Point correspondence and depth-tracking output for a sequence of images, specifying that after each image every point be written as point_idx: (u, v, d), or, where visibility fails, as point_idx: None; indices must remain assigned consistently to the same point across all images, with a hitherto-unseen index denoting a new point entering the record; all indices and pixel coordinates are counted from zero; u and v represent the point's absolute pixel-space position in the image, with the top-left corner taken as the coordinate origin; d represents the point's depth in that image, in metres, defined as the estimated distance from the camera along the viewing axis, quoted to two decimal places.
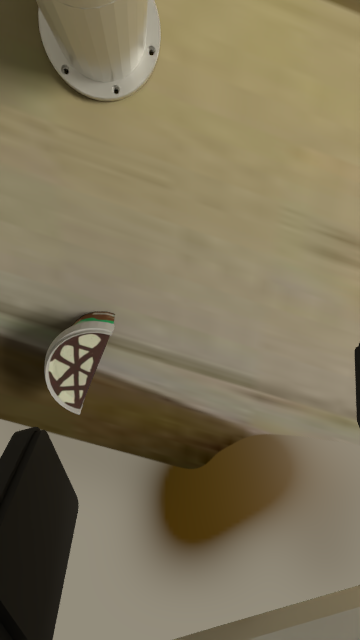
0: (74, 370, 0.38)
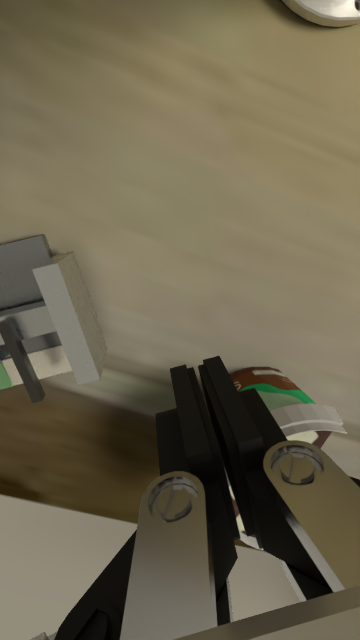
0: None
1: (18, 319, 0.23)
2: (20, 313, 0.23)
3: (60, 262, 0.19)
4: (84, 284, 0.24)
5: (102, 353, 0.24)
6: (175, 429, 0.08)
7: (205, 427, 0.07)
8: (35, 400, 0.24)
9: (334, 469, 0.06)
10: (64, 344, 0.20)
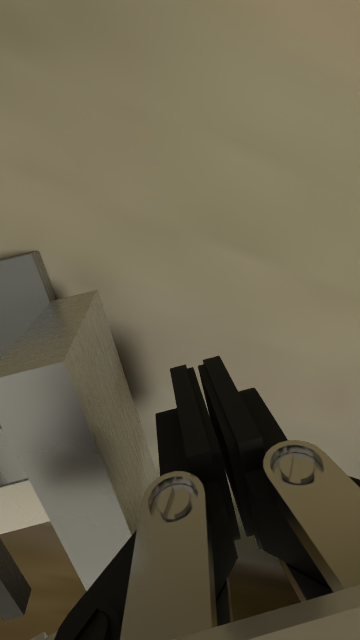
0: None
1: None
2: None
3: (71, 350, 0.06)
4: (118, 361, 0.11)
5: None
6: (174, 429, 0.08)
7: (205, 427, 0.07)
8: (9, 616, 0.11)
9: (334, 469, 0.06)
10: (78, 562, 0.07)
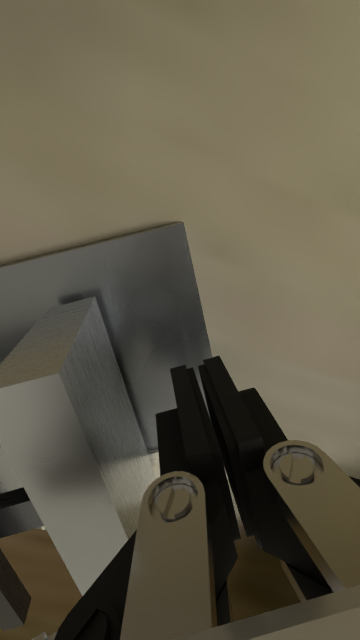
0: None
1: None
2: None
3: (67, 360, 0.06)
4: (116, 368, 0.11)
5: None
6: (174, 429, 0.08)
7: (205, 427, 0.07)
8: (9, 626, 0.11)
9: (334, 469, 0.06)
10: (77, 574, 0.07)
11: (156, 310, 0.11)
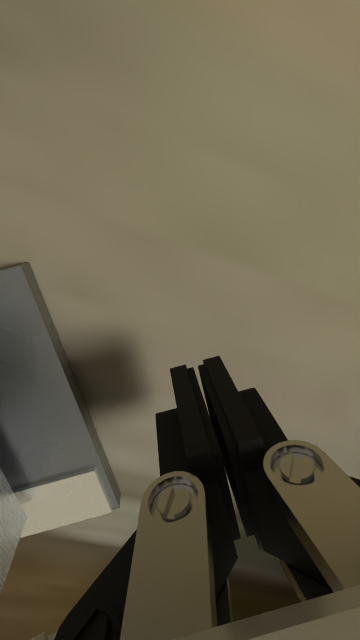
0: None
1: None
2: None
3: None
4: None
5: (1, 561, 0.11)
6: (174, 429, 0.08)
7: (205, 427, 0.07)
8: None
9: (334, 469, 0.06)
10: None
11: (6, 351, 0.11)
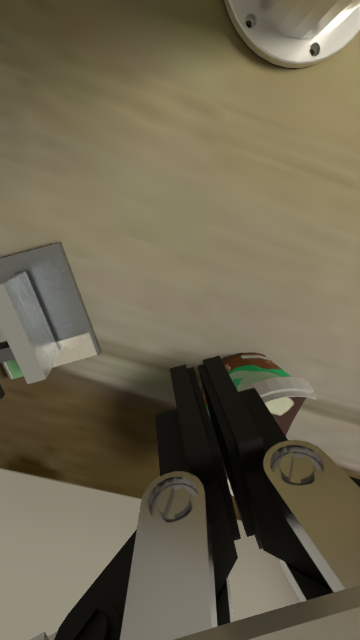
0: None
1: None
2: None
3: (6, 282, 0.24)
4: (35, 299, 0.28)
5: (52, 357, 0.28)
6: (174, 429, 0.08)
7: (205, 427, 0.07)
8: None
9: (334, 469, 0.06)
10: (13, 349, 0.25)
11: (52, 277, 0.29)
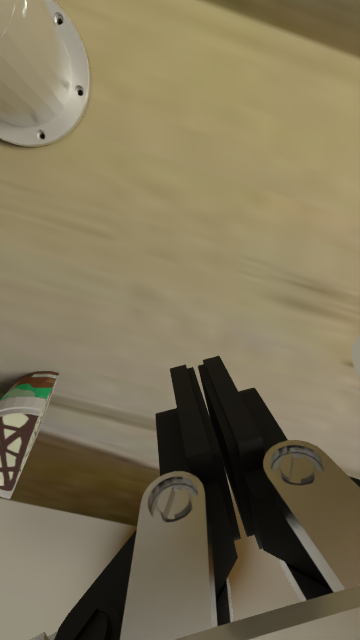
0: (0, 451, 0.34)
1: None
2: None
3: None
4: None
5: None
6: (175, 429, 0.08)
7: (205, 427, 0.07)
8: None
9: (334, 469, 0.06)
10: None
11: None
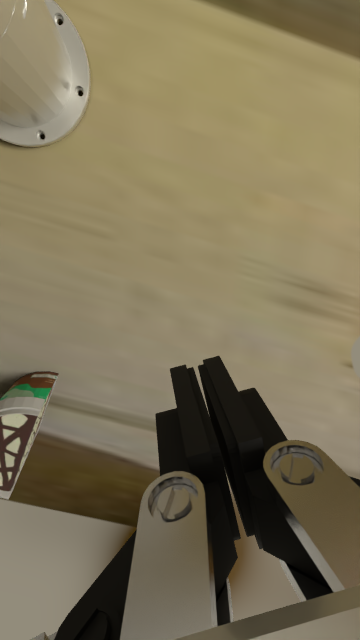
0: None
1: None
2: None
3: None
4: None
5: None
6: (174, 429, 0.08)
7: (205, 427, 0.07)
8: None
9: (334, 469, 0.06)
10: None
11: None
